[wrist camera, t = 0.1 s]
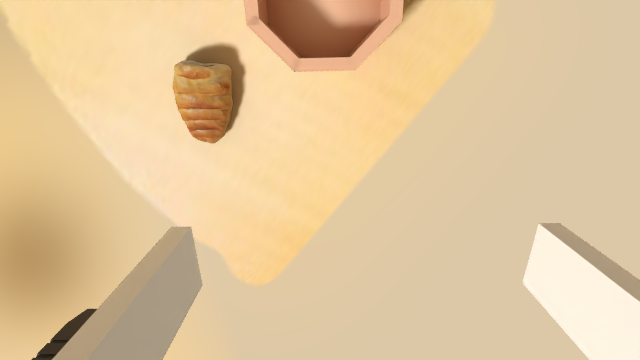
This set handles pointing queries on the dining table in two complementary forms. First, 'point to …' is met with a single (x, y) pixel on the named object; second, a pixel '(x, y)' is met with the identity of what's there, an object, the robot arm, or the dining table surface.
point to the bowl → (323, 30)
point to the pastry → (204, 98)
